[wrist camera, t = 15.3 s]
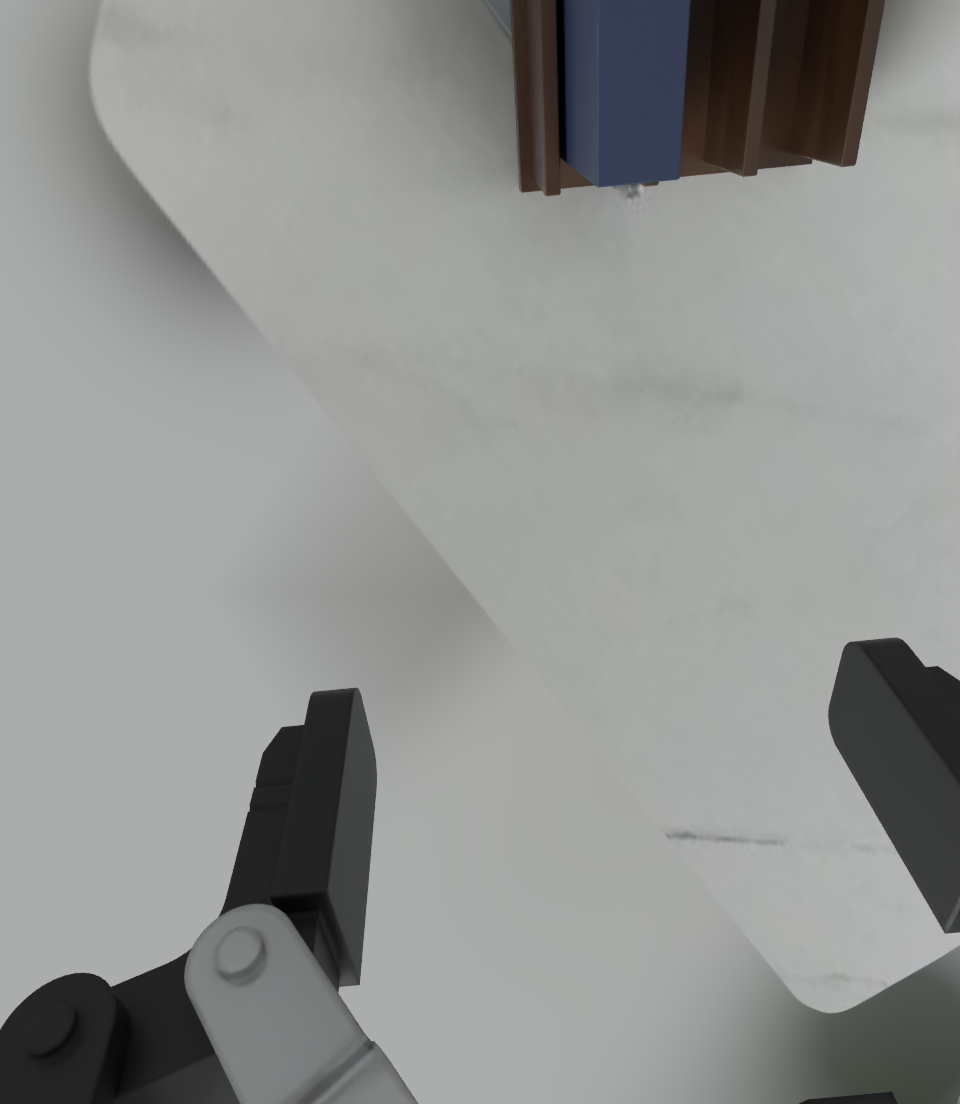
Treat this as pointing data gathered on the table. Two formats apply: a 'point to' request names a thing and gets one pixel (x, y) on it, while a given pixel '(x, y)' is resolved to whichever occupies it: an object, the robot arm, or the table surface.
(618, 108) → the navy book
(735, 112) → the book rack
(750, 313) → the table surface
